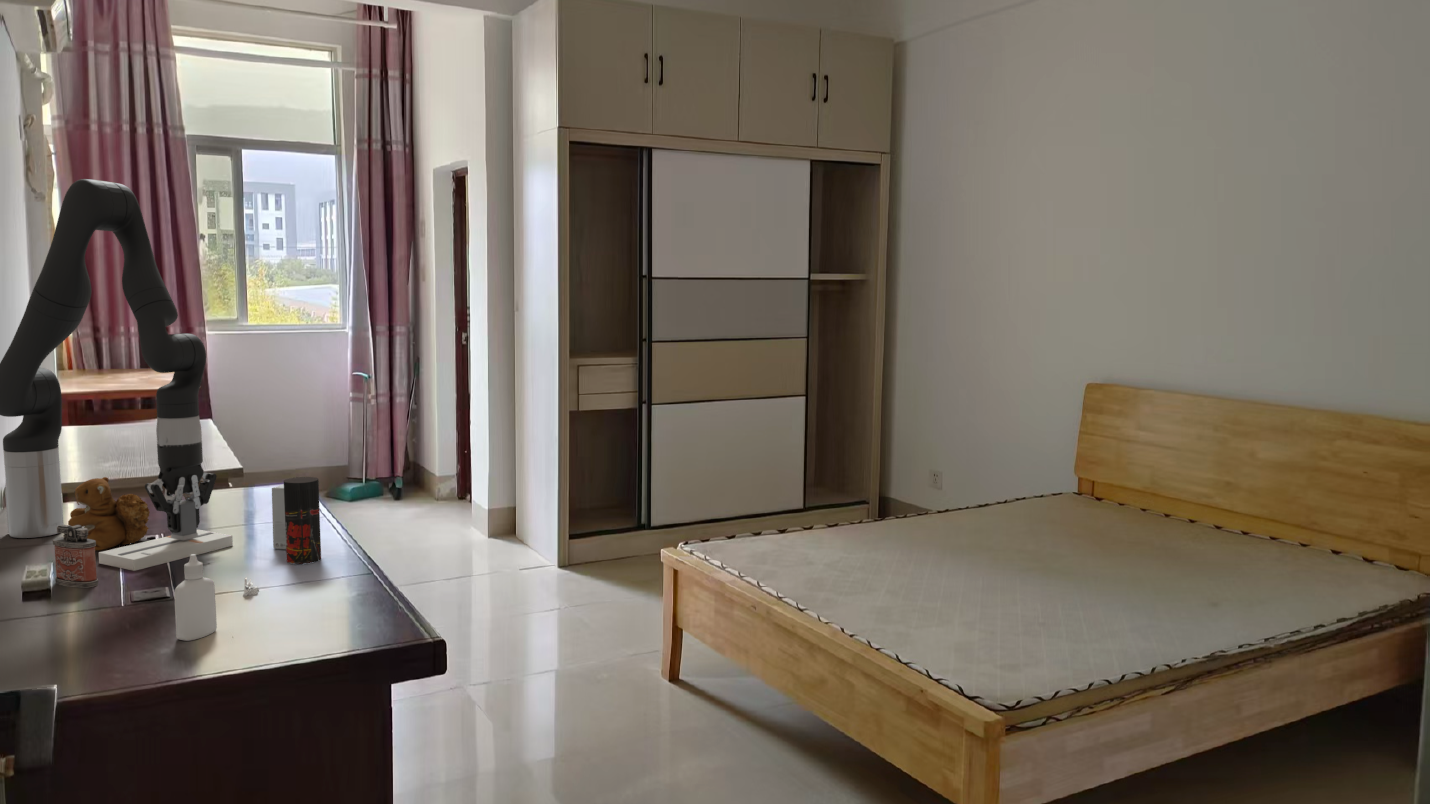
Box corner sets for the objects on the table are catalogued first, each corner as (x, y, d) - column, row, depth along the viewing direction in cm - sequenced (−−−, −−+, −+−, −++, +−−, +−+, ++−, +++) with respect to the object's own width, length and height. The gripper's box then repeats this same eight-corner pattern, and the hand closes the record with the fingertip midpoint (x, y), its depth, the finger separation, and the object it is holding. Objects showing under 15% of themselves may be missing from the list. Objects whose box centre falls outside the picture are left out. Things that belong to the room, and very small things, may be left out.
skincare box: (292, 550, 197) (290, 488, 195) (272, 549, 198) (270, 487, 196) (311, 542, 203) (309, 482, 201) (291, 541, 204) (289, 481, 202)
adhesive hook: (242, 594, 171) (241, 576, 170) (259, 593, 172) (258, 574, 171) (242, 600, 168) (241, 581, 167) (259, 598, 169) (259, 579, 169)
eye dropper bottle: (172, 635, 150) (167, 554, 148) (213, 627, 153) (210, 548, 152) (179, 643, 146) (175, 561, 145) (221, 635, 150) (218, 554, 149)
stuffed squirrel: (77, 541, 202) (73, 474, 201) (158, 536, 207) (154, 471, 205) (64, 553, 193) (59, 484, 191) (148, 548, 197) (145, 480, 196)
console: (99, 563, 187) (98, 551, 186) (198, 539, 204) (197, 528, 204) (134, 570, 182) (133, 559, 182) (232, 545, 200) (232, 534, 200)
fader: (171, 538, 195) (169, 502, 195) (185, 534, 198) (183, 500, 197) (183, 540, 194) (181, 505, 193) (197, 537, 196) (196, 502, 196)
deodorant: (280, 559, 190) (277, 479, 188) (312, 553, 194) (309, 475, 193) (295, 566, 186) (292, 484, 184) (327, 559, 190) (324, 480, 189)
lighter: (103, 583, 175) (100, 525, 173) (85, 588, 171) (82, 530, 170) (68, 578, 177) (64, 521, 176) (50, 583, 174) (46, 525, 173)
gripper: (199, 434, 202) (203, 520, 204) (131, 443, 189) (136, 535, 191) (225, 437, 198) (229, 524, 200) (157, 447, 186) (162, 540, 188)
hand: (184, 529), depth 196 cm, fingers closed on fader, 3 cm apart
